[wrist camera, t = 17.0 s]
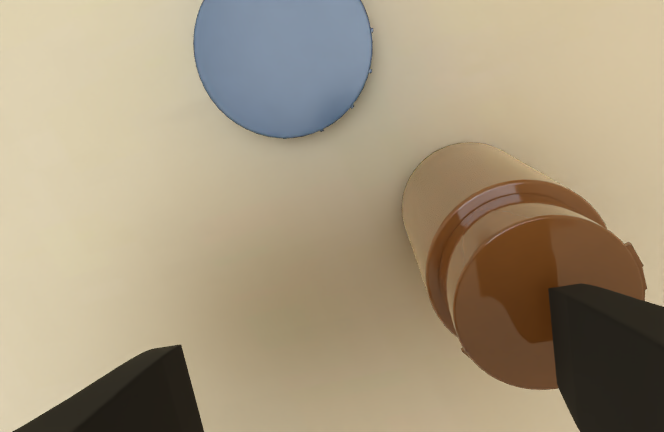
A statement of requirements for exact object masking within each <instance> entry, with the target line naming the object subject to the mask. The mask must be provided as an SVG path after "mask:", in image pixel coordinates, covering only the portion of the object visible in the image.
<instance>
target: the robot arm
mask: <svg viewBox="0 0 664 432" xmlns="http://www.w3.org/2000/svg"><path fill="white" fill-rule="evenodd" d="M548 292H549V303H550V314H551V325H552V335H553V346H554V357H555V368H556V379H557V385H558V388H559V390H560V392H561V394H562V396H563V398H564V400H565V403H566V405H567V407H568V409H569V411H570V413H571V415H572V417H573V419H574V421H575V423H576V425H577V427H578V429H579V430H580V432H664V307H662V306H659V305H655V304H652V303H649V302H646V301H643V300H640V299H636V298H633V297H630V296H627V295H624V294H621V293H618V292H614V291H611V290H608V289H604V288H601V287H597V286H593V285H589V284H582V283H580V284H574V285H567V286H561V287H554V288H548ZM13 432H204V430H203V426H202V422H201V418H200V415H199V411H198V407H197V403H196V399H195V396H194V392H193V388H192V384H191V380H190V377H189V373H188V369H187V365H186V362H185V358H184V354H183V350H182V346H181V345H175V346H168V347H162V348H155V349H151V350H148V351H146V352H143V353H141V354H139V355H138V356H136V357H134V358H132V359H130V360H129V361H127V362H125V363H124V364H122V365H120V366H119V367H117V368H116V369H114V370H113V371H111V372H109V373H108V374H106V375H105V376H103V377H102V378H100V379H98V380H97V381H95V382H94V383H92V384H91V385H89V386H87V387H86V388H84V389H83V390H81V391H80V392H78V393H77V394H75V395H73V396H72V397H70V398H69V399H67V400H65V401H64V402H62V403H60V404H59V405H57V406H55V407H54V408H52V409H50V410H49V411H47V412H45V413H44V414H42V415H40V416H39V417H37V418H35V419H34V420H32V421H30V422H29V423H27V424H25V425H24V426H22V427H20V428H18V429H17V430H15V431H13Z"/></svg>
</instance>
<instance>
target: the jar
mask: <svg viewBox="0 0 664 432" xmlns="http://www.w3.org/2000/svg"><path fill="white" fill-rule="evenodd" d="M402 218H403V222H404V226H405V229H406V232H407V235H408V238H409V241H410V244H411V247H412V250H413V252H414V255H415V258H416V261H417V264H418V267H419V270H420V273H421V276H422V279H423V282H424V285H425V288H426V291H427V294H428V296H429V299H430V302H431V305H432V307H433V309H434V311H435V313H436V314H437V316H438V318H439V319H440V320H441V322H442V323H443V324H444V326H445V327H446V328H447V329H448V330H449V331H450V332H451V333H452V334H454V335H455V336H456V337H458V339H459V341H460V343H461V345H462V348H461V350H462V352H463V353H464V354H466V355H467V356H468V357H469V358H470V359H471V360H472V361H473V362H474V363H475V364H476V365H477V366H478V367H479V368H481V369H482V370H483V371H485V372H486V373H487V374H489V375H490V376H492V377H494V378H496V379H497V380H500V381H502V382H504V383H507V384H509V385H513V386H516V387H520V388H526V389H538V390H546V389H557V388H558V385H557V379H556V368H555V357H554V346H553V335H552V325H551V314H550V303H549V292H548V288H554V287H561V286H567V285H574V284H580V283H582V284H589V285H593V286H597V287H601V288H604V289H608V290H611V291H614V292H618V293H621V294H624V295H627V296H630V297H633V298H636V299H640V300H643V301H645V290H646V289H647V286H646V282H645V277H644V273H643V268H642V267H643V264H642V262H641V260H640V259H639V257H638V255H637V253H636V251H635V250H634V248H633V246H632V244H631V243H629V242H627V243H625V244H624V243H623V242H622V241H621V240H620V239H619V238H618V237H617V236H615V235H614V234H613V233H612V232H610V231H609V230H607V227H606V225H605V223H604V221H603V220H602V218H601V217H600V215H599V214H598V212H597V211H596V210H595V209H594V208H593V207H592V206H591V204H589V203H588V202H587V201H586V200H585V199H584V198H582V197H581V196H580V195H578V194H576V193H575V192H573V191H572V190H570V189H568V188H567V187H565V186H563V185H561V184H560V183H558V182H556V181H554V180H553V179H551V178H549V177H547V176H546V175H544V174H542V173H540V172H539V171H537V170H535V169H533V168H532V167H530V166H528V165H526V164H525V163H523V162H521V161H519V160H518V159H516V158H514V157H512V156H511V155H509V154H507V153H505V152H504V151H502V150H500V149H498V148H496V147H493V146H490V145H487V144H482V143H475V142H466V143H458V144H453V145H450V146H447V147H444V148H442V149H440V150H438V151H436V152H434V153H433V154H431V155H430V156H428V157H427V158H426V159H425V160H424V161H422V162H421V163H420V164H419V166H418V167H417V168H416V169H415V170H414V172H413V173H412V175H411V176H410V178H409V180H408V182H407V185H406V187H405V190H404V194H403V199H402Z"/></svg>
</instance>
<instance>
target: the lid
mask: <svg viewBox="0 0 664 432" xmlns="http://www.w3.org/2000/svg"><path fill="white" fill-rule="evenodd" d="M372 33H373V28H371V27H370V23H369V19H368V16H367V13H366V10H365V8H364V5H363V3H362V2H361V0H203V2H202V4H201V7H200V9H199V12H198V15H197V18H196V24H195V29H194V41H193V45H194V57H195V62H196V67H197V70H198V73H199V77H200V79H201V81H202V84H203V86H204V88H205V90H206V92H207V93H208V95H209V96H210V98H211V100H212V101H213V102H214V103H215V104H216V106H217V107H218V108H219V109H220V110H221V111H222V112H223V113H224V114H225V115H226V116H227V117H228V118H230V119H231V120H232V121H234V122H235V123H236V124H238V125H240V126H242V127H243V128H245V129H247V130H249V131H252V132H254V133H257V134H260V135H264V136H268V137H275V138H283V139H286V138H295V137H302V136H306V135H309V134H313V133H315V132H318V131H320V132H321V131H323V130H324V128H326V127H328V126H330V125H331V124H333V123H334V122H335V121H337V120H338V119H339V118H341V117H342V116H343V115H344V114H345V113H346V112H347V111H348V110H349V109H350V108H353V107H354V102H355V101H356V100H357V98H358V97H359V95H360V93H361V91H362V90H363V87H364V85H365V83H366V80H367V78H368V74H369V73H371V72H372V70H371V69H370V67H371V60H372V44H373V41H372Z"/></svg>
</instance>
